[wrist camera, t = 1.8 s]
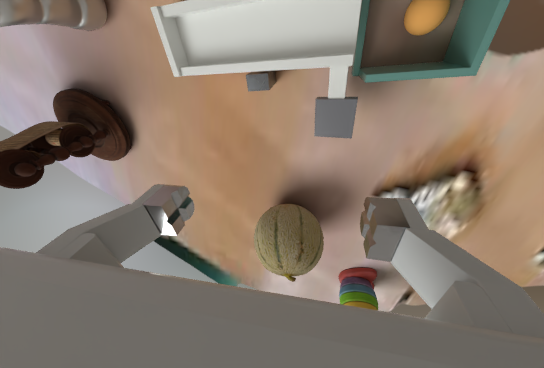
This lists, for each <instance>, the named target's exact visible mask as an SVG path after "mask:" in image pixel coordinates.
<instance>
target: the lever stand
mask: <svg viewBox="0 0 544 368" xmlns="http://www.w3.org/2000/svg"><path fill="white" fill-rule="evenodd" d="M246 79H247V86H248V91H261V90H270V89H271V88H272V86H273V85H274V84H275V83H276V79H275V70H274V71H257V72H251V73H249V74H247V75H246Z"/></svg>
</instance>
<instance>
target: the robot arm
mask: <svg viewBox="0 0 544 368" xmlns="http://www.w3.org/2000/svg"><path fill="white" fill-rule="evenodd" d="M189 194H190V193H189V190H188V188H187V187H185V186H177V185H164V184H157V185H154V186H153V187H151V188H150V189H149V190H148V191H147V192H145V193H144V194H143V195H142V196H141V197H139V198H138V199H137V200H136V201H135V202H133V203H132V204H128V205H125V206H123V207H120V208H118V209H116V210H113V211H111V212H109V213H106V214H104V215H101V216H99V217H97V218H94V219H92V220H89V221H87V222H85V223H82V224H80V225H78V226H75V227H73V228H70V229H68V230H67V231H65V232H64V233H63V234H61V235H60V236H58V237H57V238H56V239H54V240H53V241H51V242H50V243H49V244H47V245H46V246H45V247H43V248H42V249H41V250H39V251H38V252H36V253H33V252H27V251H21V250H15V249H9V248H3V247H0V368H544V314H543V313H542V311H541V310H540V309H539V308H538V306H537V305H536V304H535V303H534V302H533V300H532V299H531V298H530V297H529V295H527V293H526V292H525V291H524V289H523V288H521V287H520V286H518V285H517V284H515V283H514V282H512V281H511V280H509V279H508V278H506V277H505V276H503V275H501V274H500V273H498V272H497V271H495V270H494V269H492V268H491V267H489V266H488V265H486V264H485V263H483V262H482V261H480V260H479V259H477V258H475V257H474V256H472V255H471V254H469V253H468V252H466V251H465V250H463V249H462V248H460V247H459V246H457V245H456V244H454V243H452V242H451V241H449V240H448V239H446V238H445V237H443V236H442V235H440V234H439V233H437V232H436V231H434V230H429V229H428V227H427V226H426V224H425V222H424V221H423V219H422V217H421V216H420V214H419V212H418V211H417V209H416V207H415V206H414V204H413V202H412V200H410V199H407V198H376V197H366V199H365V202H364V207H365V211H364V212H362V214H361V220H360V229H361V235H362V236H363V237H364V238H365V240H364V249H365V253H366V258H368V259H375V260H382V261H389V262H391V264H392V265H393V266H394V267H395V268H396V269H397V270H398V272H399V273H400V274H401V275H402V276H403V277H404V278H405V279H406V281H407V282H408V283H409V284H410V285H411V286H412V287H413V289H414V290H415V291H416V292H417V293H418V294H419V295H420V296H421V298H422V299H423V300H424V301H425V302H426V303H427V304H428V305H429V307H430V308H431V309H432V310H431V311H430V312H429V313H428V315H427V316H426V317H425V318H419V317H414V316H408V315H401V314H396V313H390V312H384V311H378V310H372V309H366V308H360V307H354V306H348V305H342V304H336V303H330V302H324V301H318V300H312V299H306V298H300V297H294V296H288V295H283V294H277V293H271V292H265V291H259V290H252V289H247V288H241V287H235V286H229V285H223V284H217V283H210V282H204V281H199V280H193V279H187V278H181V277H175V276H169V275H163V274H157V273H151V272H145V271H139V270H133V269H127V268H124V267H123V266H122V265H121V264H120V263H122V262H123V261H125V260H126V259H127V258H129V257H130V256H132V255H133V254H135V253H136V252H138V251H139V250H140V249H142V248H143V247H145V246H146V245H148V244H149V243H151V242H152V241H153V240H155V239H156V238H158V237H159V236H161V234H163V235H174V236H177V235H178V234H179V232H180V231H181V230H182V228H183V227H184V226H185V221H186V220H188V219H190V218H191V216H192V215H193V212H194V203H193V200H192V199H191V198H190V197H188V196H189Z"/></svg>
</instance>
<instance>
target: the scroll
mask: <svg viewBox="0 0 544 368" xmlns="http://www.w3.org/2000/svg"><path fill="white" fill-rule="evenodd" d="M108 105H109V102H108V101H101V100H100V99H99V98H97V97H95V96H94V95H92V94H90V93H88V92H85V91H82V90H78V89H68V90H64V91H60V92H59V93H57V94H56V95H55V97H54V100H53V108H54V112H55V115H56V118H57V120H58V122H43V123H39V124H36V125H34V126H32V127H30V128H28V129H26V130H24V131H22V132H20V133H18V134H16V135H14V136H12V137H10V138H8V139H5V140H3V141H0V185H1V186H3V187H7V188H13V189H15V188H16V189H19V188H25V187H29V186H31V185H33V184H35V183H37V182H38V181H39V180H40V179H41V178H42V176H43V173H44V165H49V164H52V163H54V162H55V160H56V161H63V160H66V159H68V158H69V157H70V155H71V156H74V157H85V156H88V155H90V154H92V155H94V156H96V157H98V158H101V159H104V160H110V161H115V160H119V159H121V158H122V157H124V156H126V155H127V153H128V152H129V150H130V149H131V145H130V139H129V135H128V133H127V130H126V128H125V126H124V125H123V123H122V121H121V120H120V119H119V117H118V116H117V115H116V114H115V112H114V111H113V110H112V109H111V108H110V107H109V106H108ZM61 127H62V128H61Z"/></svg>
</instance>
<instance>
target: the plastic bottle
mask: <svg viewBox="0 0 544 368" xmlns="http://www.w3.org/2000/svg"><path fill="white" fill-rule="evenodd" d="M106 20H107V8H106V5H105V2H104V0H0V27H4V26H12V25H25V24H50V25H58V26H67V27H71V28H74V29H80V30H86V31H92V30H97V29H100V28H102V27H103V26H104V24H105V22H106Z"/></svg>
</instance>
